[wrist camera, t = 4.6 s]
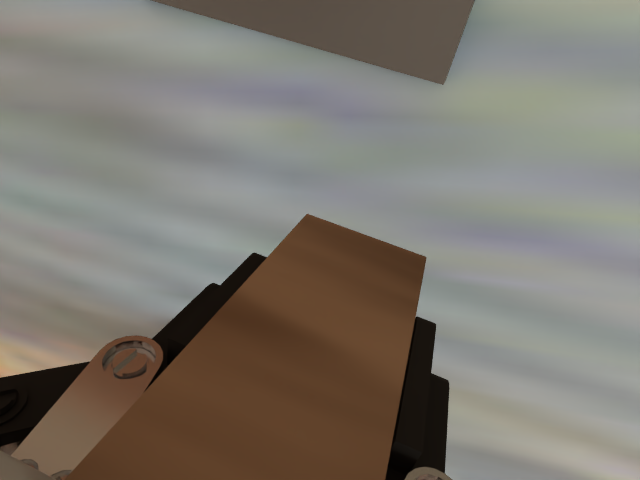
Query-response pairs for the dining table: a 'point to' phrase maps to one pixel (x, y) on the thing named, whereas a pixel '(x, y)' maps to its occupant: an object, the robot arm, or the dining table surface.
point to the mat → (356, 28)
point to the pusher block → (282, 372)
